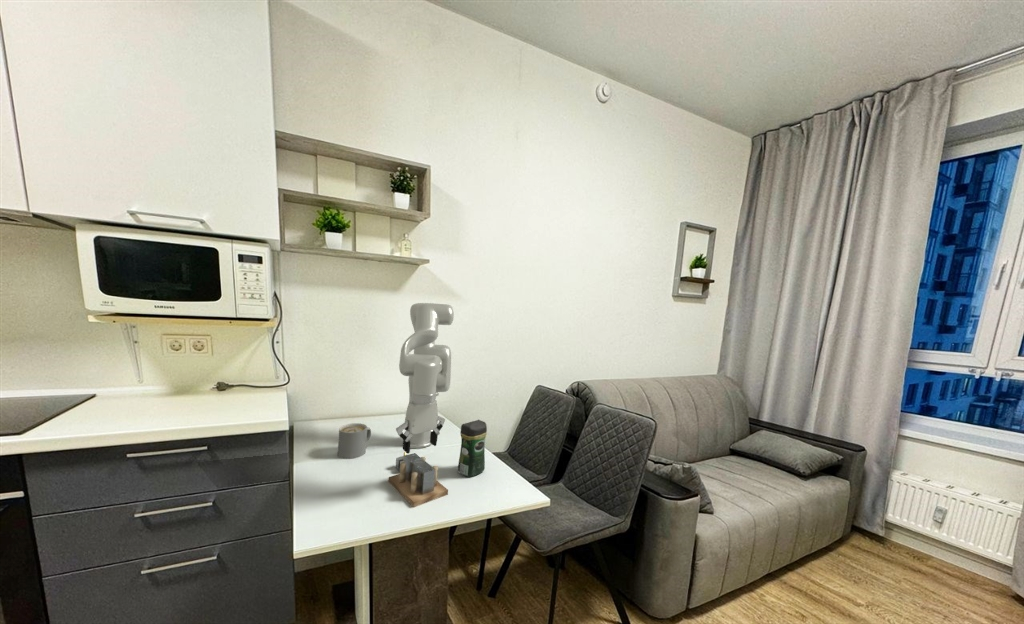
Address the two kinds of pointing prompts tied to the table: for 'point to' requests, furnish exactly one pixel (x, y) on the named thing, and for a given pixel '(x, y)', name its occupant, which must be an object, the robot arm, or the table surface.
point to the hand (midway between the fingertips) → (420, 447)
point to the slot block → (399, 461)
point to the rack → (415, 487)
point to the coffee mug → (353, 440)
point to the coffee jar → (472, 448)
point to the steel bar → (420, 473)
